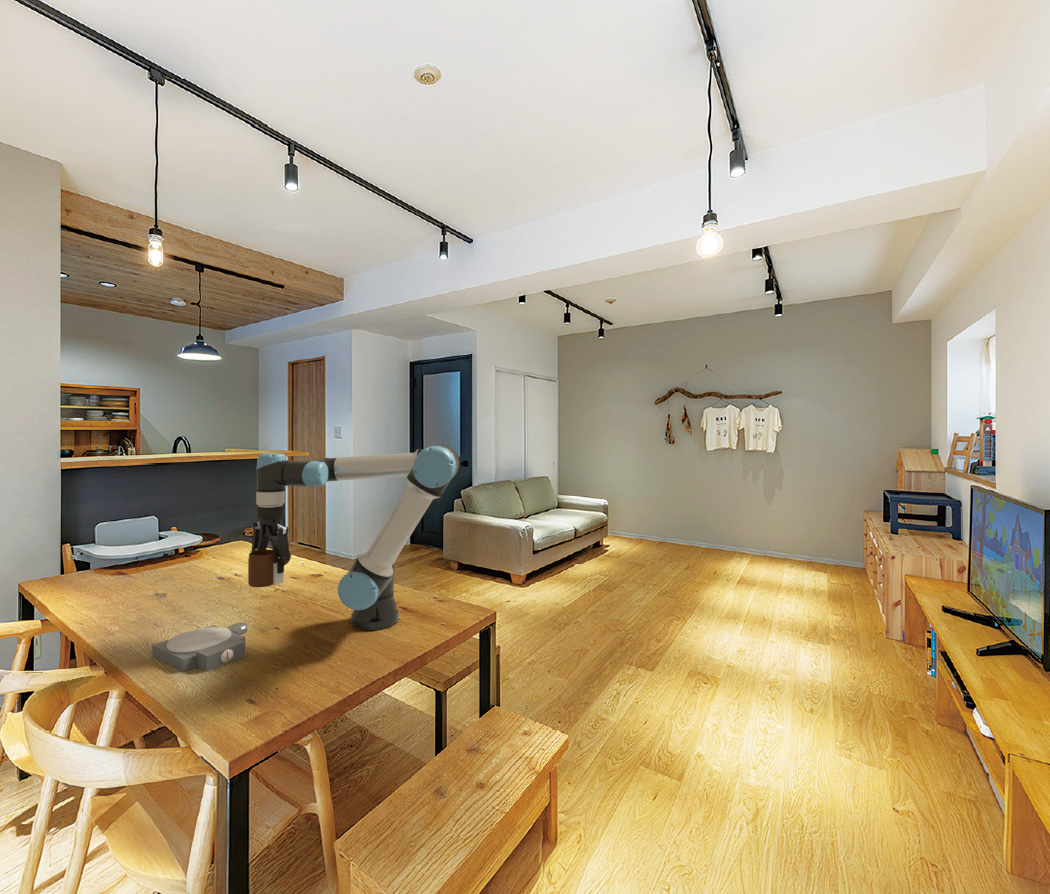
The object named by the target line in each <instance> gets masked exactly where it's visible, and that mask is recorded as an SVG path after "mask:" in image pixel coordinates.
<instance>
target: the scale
mask: <svg viewBox="0 0 1050 894" xmlns="http://www.w3.org/2000/svg"><path fill="white" fill-rule="evenodd" d="M246 644H247V643H246V637H245V636H244V635H242V634H241V635H238V634H236V633H233V632H231V631H230V630H229V629H228V628H225V627H222V626H221V627H220V626H217V625H214V624H212V625H209V626H207V627H202V628H196V629H191V630H188V631H185V632H182V633H180V634H178V635H175V636H173V637H171V638H169V639H167V640H164V641H161V642H157V643H154V644H152V645H151V652H152V653H151V656H152V657H153V658H156V659H158V660H160V661H162V662H164V663H166V664H168V665H170V666H172V667H173V668H176V669H178V670H180V671H183V672H186V671H188V670H191V669H193V668H196V667H197V668H199V669H201V670H203V671H205V672H210V671H212V670H215V669H217V668H219V667H221V666H224V665H226V664H229V663H231V662H234V661H236V660H239V659H242V658H244V657H246Z"/></svg>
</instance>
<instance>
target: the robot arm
mask: <svg viewBox="0 0 1050 894" xmlns="http://www.w3.org/2000/svg"><path fill="white" fill-rule="evenodd" d="M256 459H257V461H256V468H255V470H256V495H255V496H256V497H255V498H256V499H255V502H256V503H255V504H256V505H257V507H256V508H255V511H256V512H255V514H256V515H255V516H256V519H257V520H259V521H258V522H253V523H252V528H253V532H252V541H251V551H250V552H253V551H257V550H267V548H268V544H269V541H270V543H271V547H272V550H273V552H274V556H275V561H274V562H273V585H274V586H277V585H280V584H283V583H284V572H285V565H284V562H285V561H287V560H289V559H290V556H289V551H290V546H289V526H283V524H282V519H284V518H285V514H286V512H285V511H286V506H285V505H284V504H285V503H286V502H285V501H286V500H285V499H286V498H285V496H286V495H285V493H286V487H291V486H292V487H310V488H315V487H316V488H317V487H324V486H325V485H326V483H328V482H338V481H352V480H367V479H369V480H371V479H387V478H389V479H390V478H400V477H402V478H404V477H405V479H406V481H407V485H406V488H405V489H404V491H403V492H402V494H401V495H400V497H399V499H398V500H397V502H396V503H395V505H394V506H393V508H392V510H391V512H390V513H389V515H388V517H387V518H386V520H385V521H384V523H383V524H382V526H381V528H380V530H379V532H377V535H376V536H375V537H374V539H373V541H372V543H371V544H370V546H369V547H368V549H367V551H362V552H360V553H358V554H357V558H356V559H355V560H354V562H353V564H352V566H350V568H349V569H348V571H347V572H346V573H345V575H343V576H342V577H341V579H340V580H339V583H338V585H337V595H338V598H339V600H340V602H341V603H342V604H343V605H344V606H345V607H347V608H349V609H350V610H353V611H352V613H351V616H350V626H351V627H353V628H354V629H357V630H361V631H378V630H384V629H388V628H390V627H393V626H394V625H396V624H397V623H398V622H399V620H400V617H399V616H400V613H399V610H398V609H397V608H398V607H397V603H396V601H395V595H394V593H395V592H394V590H395V562H396V561H397V559H398V557H399V555H400V553H401V551H402V550H403V548H404V547H405V545H406V543H408V540H409V539H410V537H411V536H412V534H413V533H414V531H415V529H416V527H417V526H418V524H419V523H420V521H421V520H422V518H423V516H424V515H425V513H426V511H427V510H428V508H429V507H430V505H431V503H432V502H433V500H435V499H440V498H441V497H442V495H443V493H444V492H445V491H446V488H447V487H448V485H449V484H450V483H451V480H452V479H454V478H455V476H456V475H457V474H458V472H459V469H460V464H461V463H460V457H459V455H458V454H457V452H456V451H455V449H453V448H452V447H450V446H448V445H443V444H442V445H439V444H438V445H431V446H428V447H425V448H422V449H421V448H420V449H419V448H418V449H416V451H414V452H405V453H391V454H390V453H389V454H375V455H374V454H373V455H359V456H358V455H357V456H344V457H343V456H342V457H321V458H317V459H311V460H288V459H287V457H286V455H285V454H284V453H278V452H277V453H274V452H273V453H272V452H270V453H269V452H268V453H267V452H265V453H260V454H258V456H257V458H256ZM290 560H291V559H290ZM273 585H272V586H273ZM397 621H398V622H397ZM395 623H396V624H395ZM392 625H393V626H392Z"/></svg>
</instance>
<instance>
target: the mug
mask: <svg viewBox="0 0 1050 894" xmlns="http://www.w3.org/2000/svg"><path fill="white" fill-rule="evenodd" d="M289 556H290V559H289V560H287V561H285V562H284V566H286V565H288V564H289V562H290V560H291V557H292V553H291V551H290V550H289ZM247 561H248V564H247V565H248V566H247V568H248V569H247V570H248V571H247V574H248V576H247V580H248V581H247V583H248V586H250V587H251V588H265V587H270V586H273V562H274V561H275V556H274V552H273V549H270V548H269V549H266V550H257V551H253V552H251V551H250V552H249V553H248V560H247Z"/></svg>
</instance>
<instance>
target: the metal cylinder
mask: <svg viewBox="0 0 1050 894" xmlns="http://www.w3.org/2000/svg"><path fill="white" fill-rule="evenodd" d="M227 629H229V630H230V631H231V632H233V633H236V634H238V635H241V636H242V635H243V634H245V633H247V632H248V623H247V622H238V623H237V622H236V623H233V624H230V625H229V626H228V628H227Z"/></svg>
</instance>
